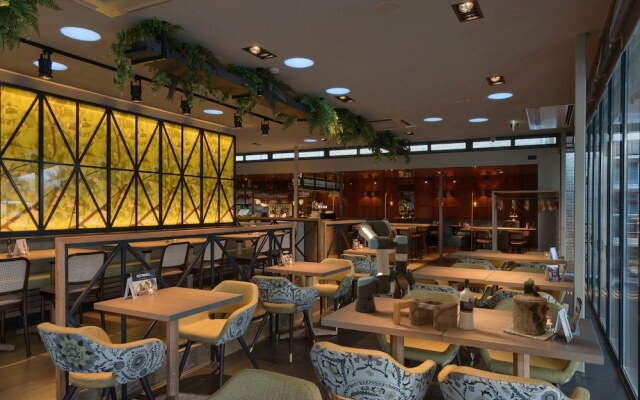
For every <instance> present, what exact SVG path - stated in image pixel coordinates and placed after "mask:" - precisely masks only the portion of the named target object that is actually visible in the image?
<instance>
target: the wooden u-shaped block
mask: <svg viewBox="0 0 640 400" xmlns="http://www.w3.org/2000/svg"><path fill="white" fill-rule="evenodd" d="M412 301H416V300H414V299H411V298H410V299H405V300H401V301H395V302H393V304H392V305H393V306H392V307H393V310H392V311H393V312H392V313H393V315H392V316H393V317H392V323H393V325H398V326H399V325H400V324H401V310H405V309H409V310H408V311H409V312H408V320H409V321H411V302H412Z"/></svg>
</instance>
